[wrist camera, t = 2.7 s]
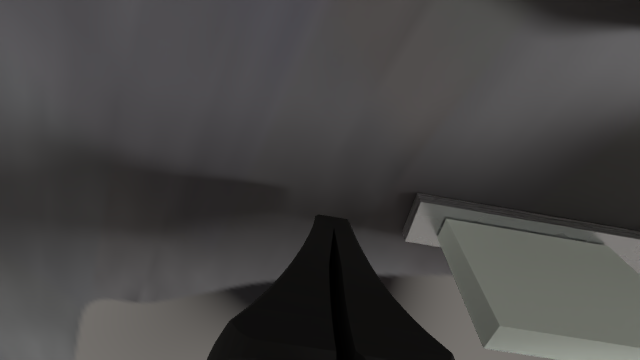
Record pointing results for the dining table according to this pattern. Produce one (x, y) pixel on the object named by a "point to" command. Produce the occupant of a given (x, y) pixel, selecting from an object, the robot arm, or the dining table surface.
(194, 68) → the dining table surface
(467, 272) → the grey flat block
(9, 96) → the dining table surface
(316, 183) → the dining table surface
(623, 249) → the rail
